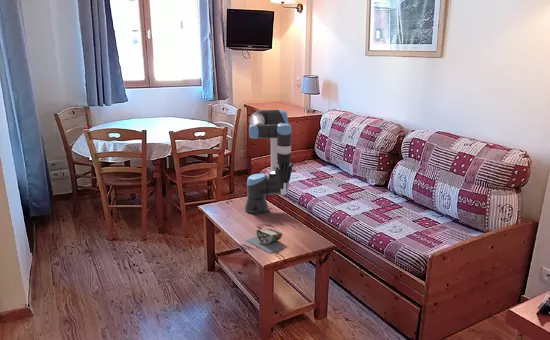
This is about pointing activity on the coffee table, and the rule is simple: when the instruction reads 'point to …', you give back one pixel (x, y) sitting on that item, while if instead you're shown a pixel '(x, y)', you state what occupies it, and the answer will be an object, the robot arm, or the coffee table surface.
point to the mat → (266, 245)
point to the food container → (268, 235)
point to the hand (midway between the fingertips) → (283, 193)
